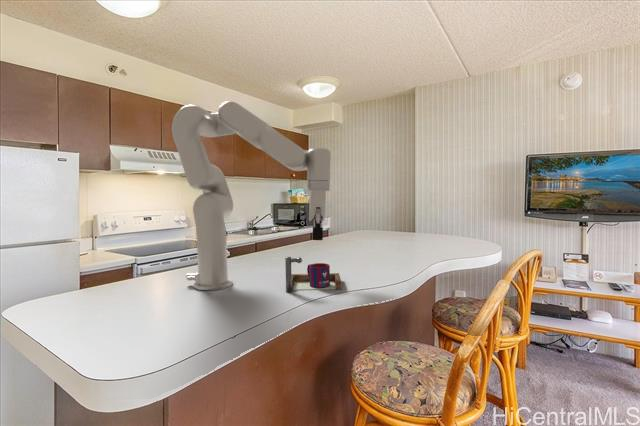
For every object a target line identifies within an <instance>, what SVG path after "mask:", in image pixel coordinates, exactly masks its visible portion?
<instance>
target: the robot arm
mask: <svg viewBox="0 0 640 426" xmlns="http://www.w3.org/2000/svg"><path fill="white" fill-rule="evenodd" d="M217 110H218V111H217V112H210V111H207V110H206V109H205V108H203V107H201V106H199V105H196V104H195V105H194V104H188V105H184V106H182V107H181V108H180V109H179V110H177V112H176V113H175V115H174V117H173V119H172V123H171V134H172V139H173V142H174V144H175V146H176V150H177V152H178V155H179V158H180V159H179V160H180V162H181V165H182V168H183V170H184V174H185V177H186V180H187V183H188V184H189V186H190V187H191V188H192V189H194V190H198V191H202V193H201V194H200V195H199V196H198V197H197V198H195V200H194V202H193V205H192V206H193V207H192V212H193V219H194V222H195V223H194V224H195V231H196V233H195V234H196V249H197V251H196V252H197V272H196V273H187V274H186V275H185V276H186V280H187V281H194V283H193V288H194V289H195V290H199V291H214V290H215V291H216V290H221V289H225V288H228V287H231V286H232V285H233V279H232V278H229V277H228V275H229V274H228V273H229V272H228V247H227V246H228V245H227V244H228V243H227V229H226V223H225V218H228V217H229V216H230V215H231V213H232V212H233V209H234V202H233V197H232V194H231V192H230V189H229V186H228V185H229V184H228V183H227V180H226V179H227V178H226V177H225V174H224V172H223V171H222V170H221V168H220V167H218V166H217V165H215V164H213V163H211V162H210V160H209V156H208V154H207V151H206V147H205V145H204V143H203V141H202V139H201V137H203V138H216V137H222V136H229V135H230V136H231V135H234V134H236V135H237V136H239V137H240V138H242V139H243V140H244V141H246V142H248V143H250V144H251V145H252V146H253V147H255V148H256V149H258V150H261V151H262V152H264V153H265V154H267V155H268V156H270V157H271V158H273V159H274V160H275V161H277V162H278V163H280V164H281V165H283V166H285V167H286V168H287V169H289V170H291V171H295V172H302V171H306V173H307V174H306V191H309V205H308V206H309V208H308V209H309V210H308V211H309V212H308V214H309V216H308V217H309V218H308V219H309V221H312V220H313V224H312V240H313V241H323V236H324V227H323V222H324V221H325V216H326V208H327V207H326V206H327V205H326V204H327V201H326V200H327V192H331V151H330V150H329V149H328V148H325V147H312V148H310V149H309V150H307V149H303V148H302V147H301V146H299V145H298V144H297V143H295V142H293V141H292V140H291V139H289V138H288V137H286V136H285V135H283V133H281V132H279V131H278V130H276V129H275V128H273V127H272V126H271V125H270V124H269V123H267V122H266V121H264V120H262V119H261V118H259V117H258V116H257V115H255V114H253V113H252V112H250V111H249V110H248V109H246V108H245V107H243V106H242V105H241V104H239V103H237V102H236V101H232V100H231V101H230V100H229V101H228V100H227V101H224V102H223V103H221V105H219V107H218V109H217ZM200 136H201V137H200Z"/></svg>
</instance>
